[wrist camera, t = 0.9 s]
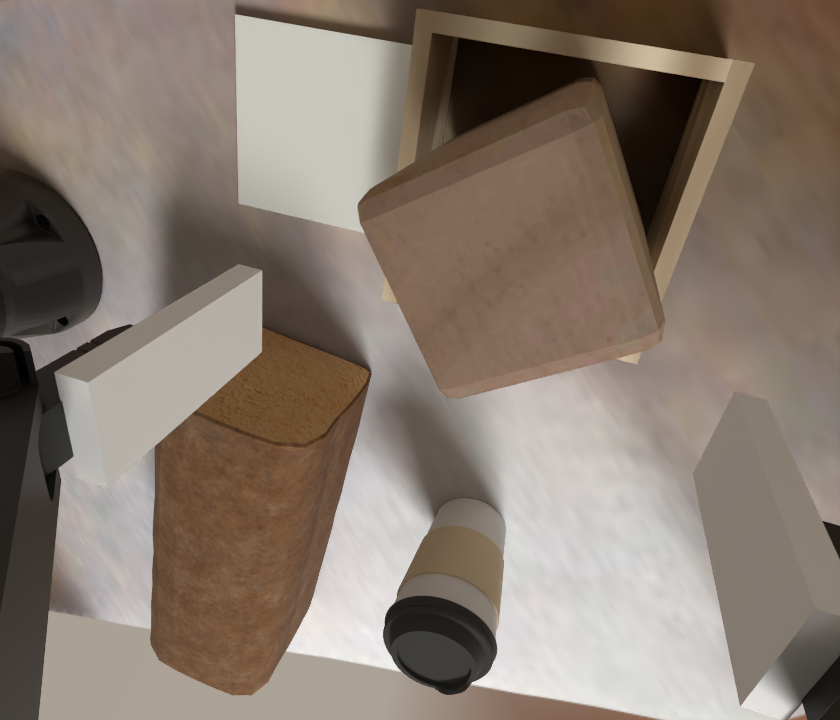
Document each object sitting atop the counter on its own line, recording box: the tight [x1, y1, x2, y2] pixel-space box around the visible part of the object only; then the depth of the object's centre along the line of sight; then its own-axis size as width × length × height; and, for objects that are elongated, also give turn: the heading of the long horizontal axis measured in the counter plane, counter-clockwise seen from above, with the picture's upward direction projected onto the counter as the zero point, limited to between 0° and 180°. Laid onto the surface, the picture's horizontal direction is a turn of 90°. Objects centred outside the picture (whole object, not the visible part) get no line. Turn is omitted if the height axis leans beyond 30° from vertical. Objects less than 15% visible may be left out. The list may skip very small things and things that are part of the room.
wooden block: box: [357, 77, 665, 399], centre depth 31 cm, size 10×10×20 cm
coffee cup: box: [383, 498, 506, 695], centre depth 49 cm, size 9×9×15 cm
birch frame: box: [382, 8, 755, 364], centre depth 36 cm, size 17×17×7 cm
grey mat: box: [235, 14, 412, 233], centre depth 42 cm, size 13×13×1 cm
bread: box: [150, 328, 371, 695], centre depth 54 cm, size 14×34×14 cm, turn 165°
